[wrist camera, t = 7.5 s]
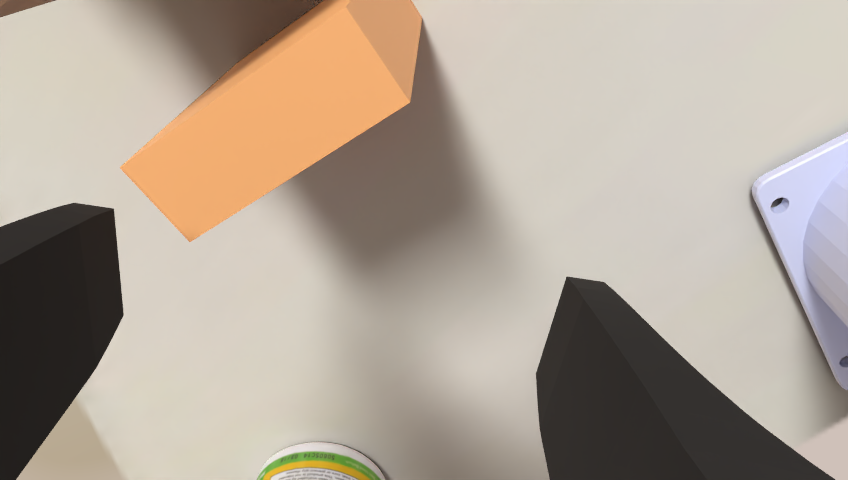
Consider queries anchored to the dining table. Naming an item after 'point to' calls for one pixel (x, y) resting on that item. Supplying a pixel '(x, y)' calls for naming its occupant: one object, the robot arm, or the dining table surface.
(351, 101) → the orange tile
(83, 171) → the dining table surface
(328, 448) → the supplement bottle
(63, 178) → the dining table surface
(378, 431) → the dining table surface
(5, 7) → the tile
